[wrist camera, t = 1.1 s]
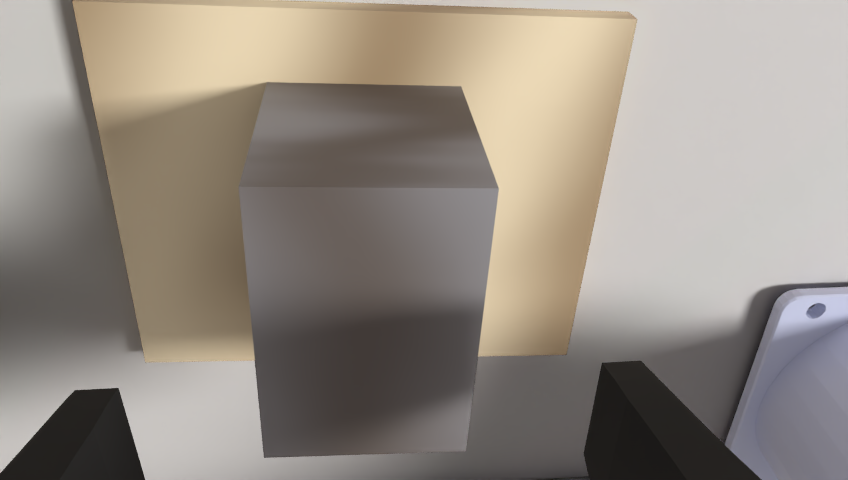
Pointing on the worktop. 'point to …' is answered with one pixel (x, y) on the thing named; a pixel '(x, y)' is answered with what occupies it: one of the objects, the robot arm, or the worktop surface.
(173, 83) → the birch board
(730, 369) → the worktop surface
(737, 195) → the worktop surface
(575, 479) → the pin plate
